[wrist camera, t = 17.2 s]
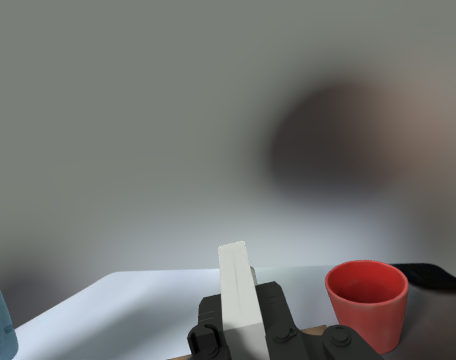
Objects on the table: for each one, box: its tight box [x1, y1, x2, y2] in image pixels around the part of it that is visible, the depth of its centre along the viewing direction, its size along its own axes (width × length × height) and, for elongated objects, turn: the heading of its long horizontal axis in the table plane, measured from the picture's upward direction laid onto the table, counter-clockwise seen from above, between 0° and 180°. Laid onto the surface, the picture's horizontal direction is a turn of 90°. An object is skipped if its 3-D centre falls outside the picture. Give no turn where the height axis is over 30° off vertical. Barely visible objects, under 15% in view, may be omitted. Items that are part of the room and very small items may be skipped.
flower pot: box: [325, 260, 409, 354], centre depth 47 cm, size 11×11×10 cm
